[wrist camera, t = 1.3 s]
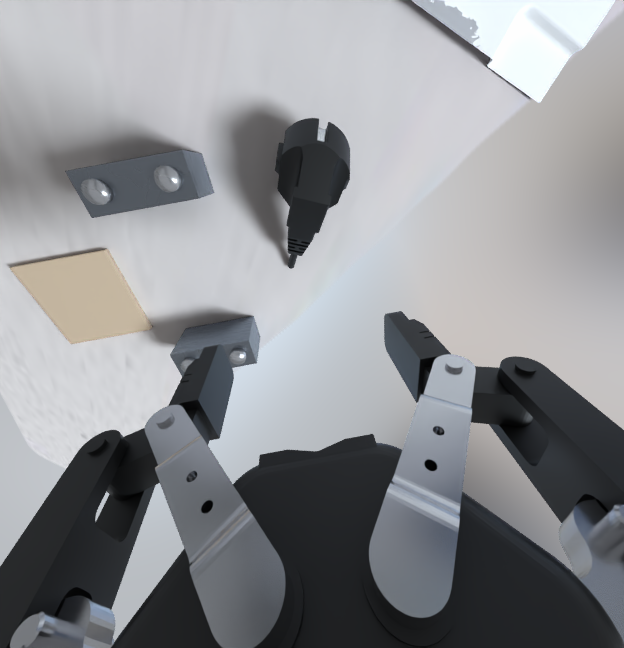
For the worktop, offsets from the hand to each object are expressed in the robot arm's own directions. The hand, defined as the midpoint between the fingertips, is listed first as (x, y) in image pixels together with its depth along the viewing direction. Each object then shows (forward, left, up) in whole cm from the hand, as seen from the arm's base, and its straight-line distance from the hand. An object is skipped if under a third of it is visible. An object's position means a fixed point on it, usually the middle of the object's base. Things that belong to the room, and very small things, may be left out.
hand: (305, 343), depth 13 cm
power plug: (0, 0, -19) cm, 19 cm away
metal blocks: (0, -10, -16) cm, 19 cm away
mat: (+1, -22, -16) cm, 27 cm away
